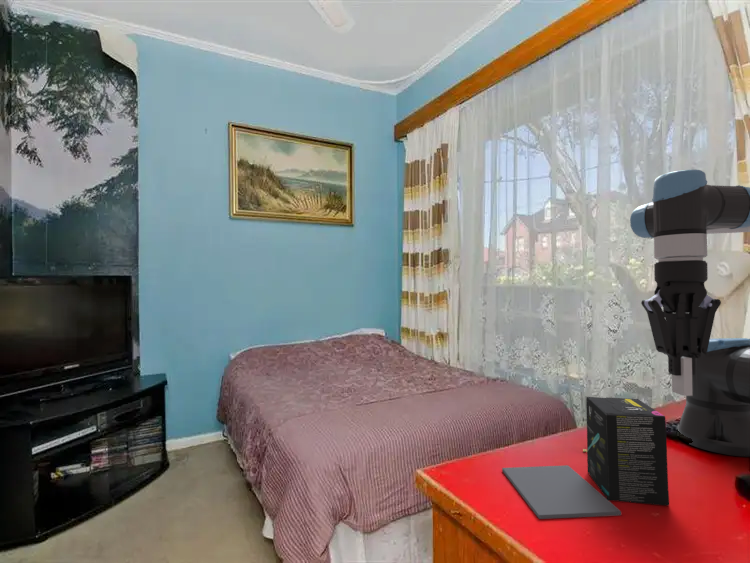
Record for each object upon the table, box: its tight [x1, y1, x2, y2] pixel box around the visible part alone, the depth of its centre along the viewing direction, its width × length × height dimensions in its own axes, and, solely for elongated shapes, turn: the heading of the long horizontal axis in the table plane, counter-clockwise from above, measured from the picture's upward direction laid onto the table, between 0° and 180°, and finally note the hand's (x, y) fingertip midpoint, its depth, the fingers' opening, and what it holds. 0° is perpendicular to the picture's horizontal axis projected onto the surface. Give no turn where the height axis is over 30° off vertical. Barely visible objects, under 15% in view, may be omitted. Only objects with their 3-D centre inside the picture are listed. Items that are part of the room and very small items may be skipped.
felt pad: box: [501, 464, 622, 520], centre depth 71 cm, size 13×16×1 cm
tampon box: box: [585, 396, 670, 506], centre depth 71 cm, size 11×9×15 cm
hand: (682, 393), depth 72 cm, fingers closed
